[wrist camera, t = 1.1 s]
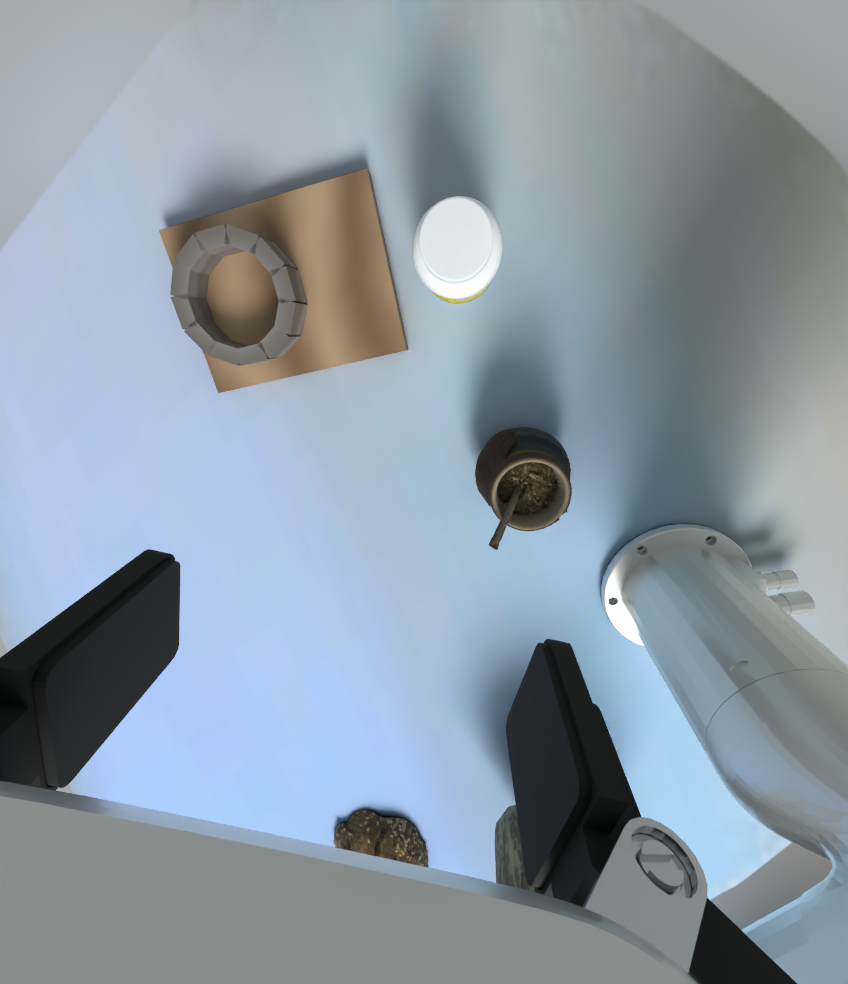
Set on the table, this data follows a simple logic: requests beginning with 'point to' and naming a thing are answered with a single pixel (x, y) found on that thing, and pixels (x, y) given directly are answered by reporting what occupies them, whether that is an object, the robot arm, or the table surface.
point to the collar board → (287, 283)
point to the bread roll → (381, 838)
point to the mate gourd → (524, 479)
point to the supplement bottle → (457, 248)
